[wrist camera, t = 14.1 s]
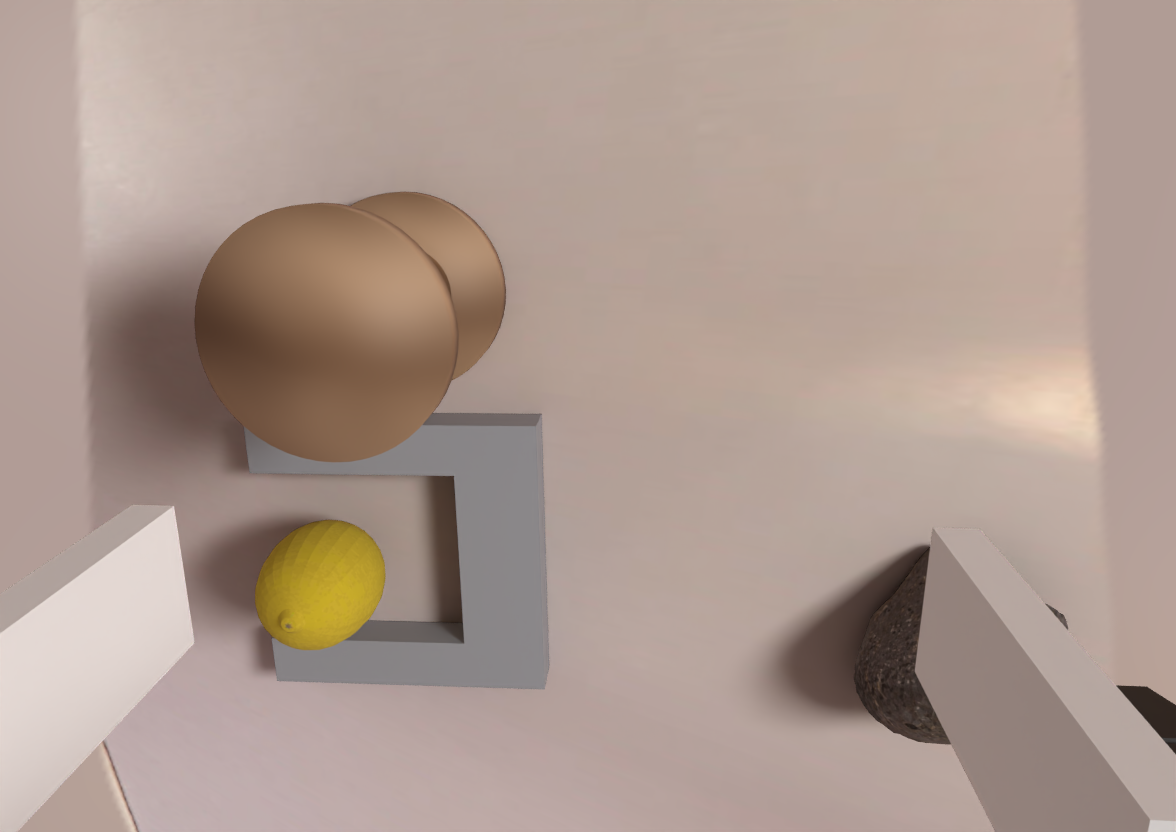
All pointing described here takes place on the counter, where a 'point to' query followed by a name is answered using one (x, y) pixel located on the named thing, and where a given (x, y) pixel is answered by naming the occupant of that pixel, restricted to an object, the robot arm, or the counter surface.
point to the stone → (900, 663)
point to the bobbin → (347, 320)
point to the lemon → (320, 585)
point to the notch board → (486, 558)
